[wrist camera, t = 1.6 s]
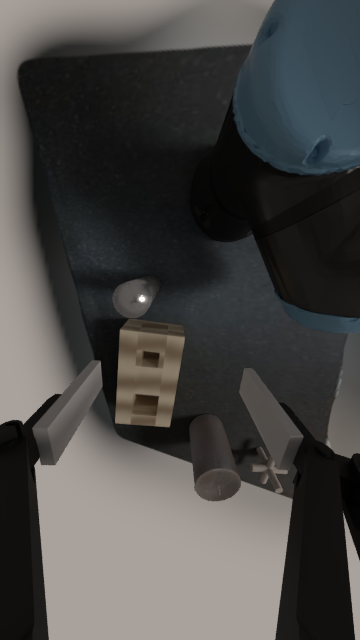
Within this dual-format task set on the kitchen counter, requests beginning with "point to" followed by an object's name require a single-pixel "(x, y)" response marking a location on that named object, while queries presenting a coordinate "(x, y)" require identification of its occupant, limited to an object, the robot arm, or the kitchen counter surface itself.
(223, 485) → the pillar candle
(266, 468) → the pipe connector
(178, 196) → the kitchen counter surface
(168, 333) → the hole block
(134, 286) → the pin
